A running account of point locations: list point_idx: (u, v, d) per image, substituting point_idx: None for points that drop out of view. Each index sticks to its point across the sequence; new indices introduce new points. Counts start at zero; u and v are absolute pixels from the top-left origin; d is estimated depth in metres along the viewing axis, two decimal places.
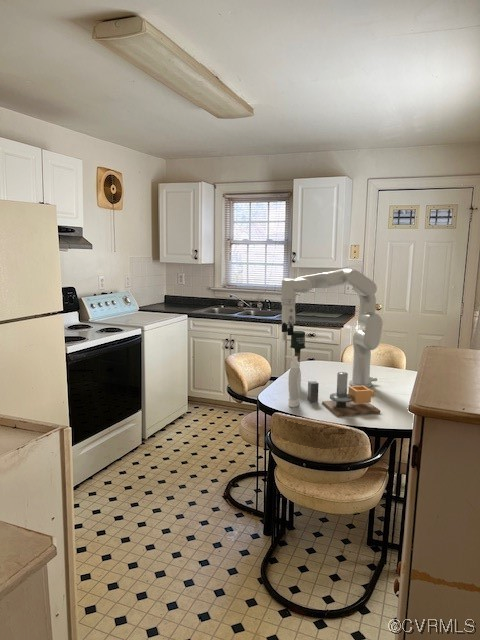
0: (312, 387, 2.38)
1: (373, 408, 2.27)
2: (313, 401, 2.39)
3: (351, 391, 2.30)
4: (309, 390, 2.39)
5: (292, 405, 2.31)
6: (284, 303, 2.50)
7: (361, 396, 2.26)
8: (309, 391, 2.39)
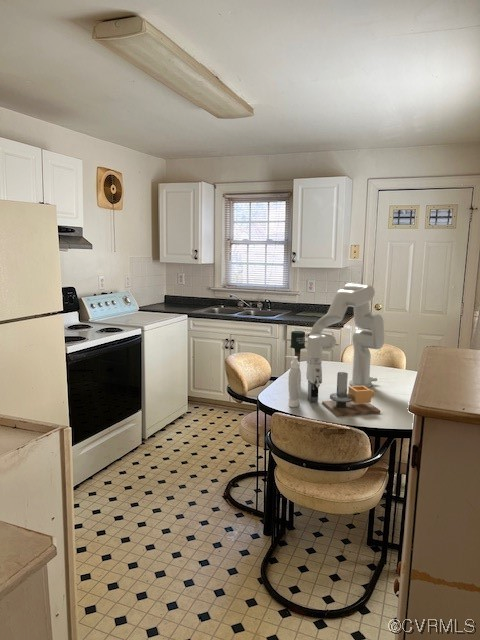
0: None
1: (373, 408, 2.27)
2: (313, 401, 2.39)
3: (351, 391, 2.30)
4: (309, 390, 2.39)
5: (292, 405, 2.31)
6: (310, 362, 2.35)
7: (361, 396, 2.26)
8: (309, 391, 2.39)
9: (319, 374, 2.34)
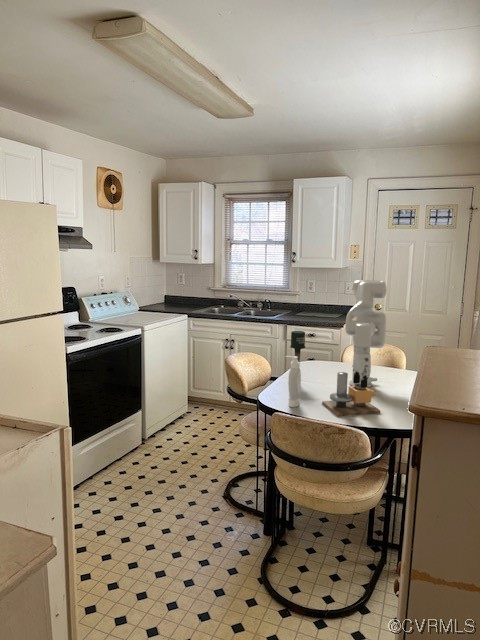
0: None
1: (373, 408, 2.27)
2: (360, 405, 2.29)
3: (351, 391, 2.30)
4: None
5: (292, 405, 2.31)
6: (358, 351, 2.24)
7: (361, 396, 2.26)
8: None
9: (368, 363, 2.23)
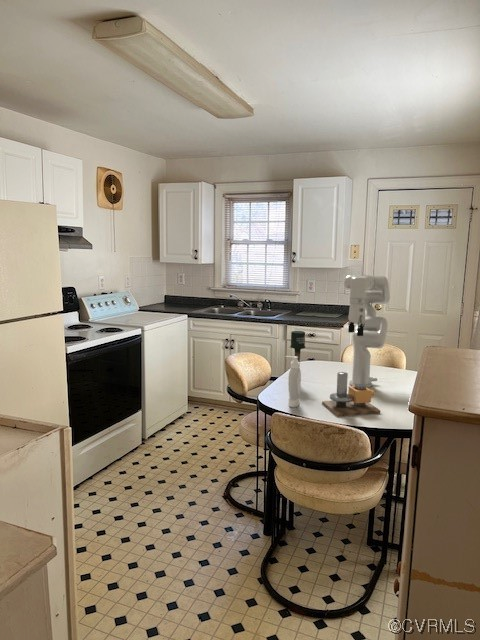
0: None
1: (373, 408, 2.27)
2: (360, 405, 2.29)
3: (351, 391, 2.30)
4: None
5: (292, 405, 2.31)
6: (354, 302, 2.40)
7: (361, 396, 2.26)
8: None
9: (363, 314, 2.39)
